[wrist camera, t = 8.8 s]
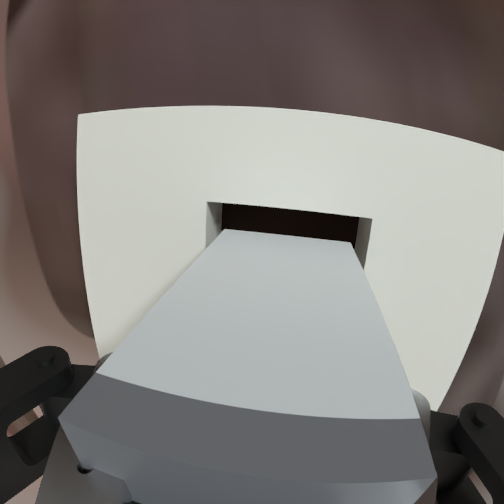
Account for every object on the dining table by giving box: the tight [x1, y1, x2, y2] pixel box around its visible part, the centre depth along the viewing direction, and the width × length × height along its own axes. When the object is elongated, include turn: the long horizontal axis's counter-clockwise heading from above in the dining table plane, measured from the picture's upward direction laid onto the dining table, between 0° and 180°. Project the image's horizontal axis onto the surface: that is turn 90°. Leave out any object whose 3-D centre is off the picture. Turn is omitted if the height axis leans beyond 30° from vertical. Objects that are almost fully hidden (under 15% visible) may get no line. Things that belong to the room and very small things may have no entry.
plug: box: [58, 229, 437, 504], centre depth 8 cm, size 4×5×9 cm
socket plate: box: [77, 106, 504, 412], centre depth 14 cm, size 18×14×2 cm
